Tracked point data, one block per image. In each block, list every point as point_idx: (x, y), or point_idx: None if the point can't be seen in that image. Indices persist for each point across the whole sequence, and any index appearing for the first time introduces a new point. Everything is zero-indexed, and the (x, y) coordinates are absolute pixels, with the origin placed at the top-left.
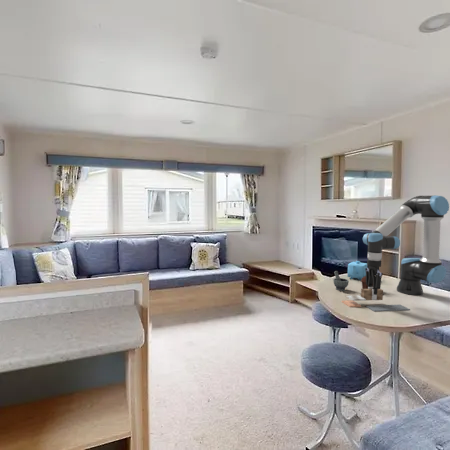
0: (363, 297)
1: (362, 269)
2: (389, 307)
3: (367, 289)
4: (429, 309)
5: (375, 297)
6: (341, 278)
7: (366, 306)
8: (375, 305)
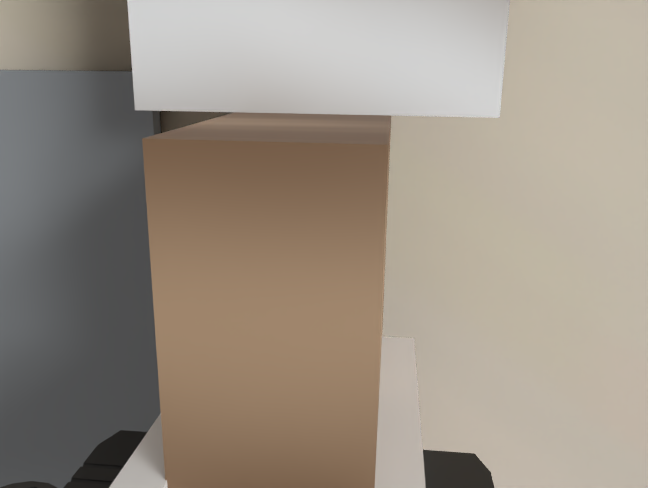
0: (253, 113)
1: None
2: (40, 479)
3: (275, 369)
4: None
5: None
6: None
7: (112, 71)
8: None
